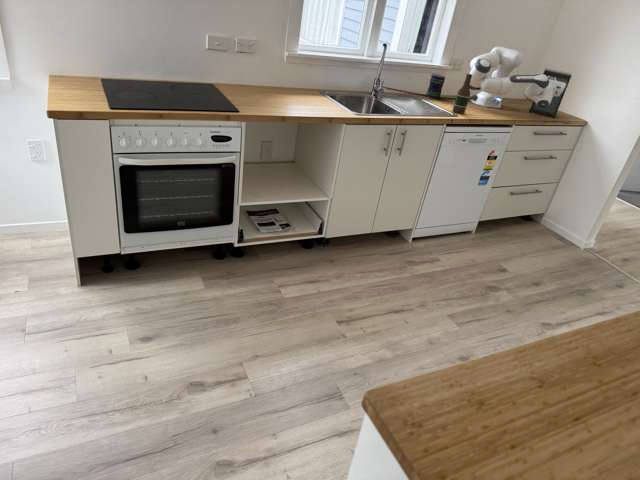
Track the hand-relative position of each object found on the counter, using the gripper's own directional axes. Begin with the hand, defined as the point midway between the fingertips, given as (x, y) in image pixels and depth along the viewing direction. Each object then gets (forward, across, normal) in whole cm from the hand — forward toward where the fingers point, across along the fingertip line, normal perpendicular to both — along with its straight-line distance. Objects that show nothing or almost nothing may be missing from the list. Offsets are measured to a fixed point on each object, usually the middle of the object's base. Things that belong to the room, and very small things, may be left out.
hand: (551, 77), depth 336 cm
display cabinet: (-3, +3, -29) cm, 29 cm away
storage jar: (-41, -71, -7) cm, 82 cm away
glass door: (-12, +3, -22) cm, 25 cm away
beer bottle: (-67, -48, +8) cm, 83 cm away
